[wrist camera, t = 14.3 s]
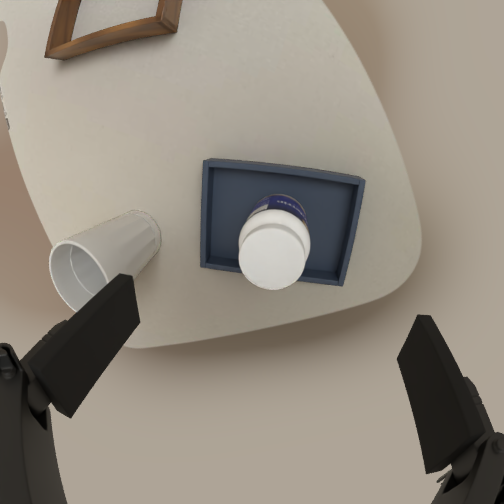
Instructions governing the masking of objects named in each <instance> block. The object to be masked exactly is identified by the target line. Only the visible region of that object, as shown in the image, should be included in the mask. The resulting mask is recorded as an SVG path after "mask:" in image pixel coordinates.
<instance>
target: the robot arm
mask: <svg viewBox="0 0 504 504" xmlns="http://www.w3.org/2000/svg"><path fill="white" fill-rule="evenodd" d="M139 323H140V318H139V312H138V307H137V301H136V295H135V288H134V281H133V276H132V275H127V274H122V273H119V274H118V275H117V276H116V277H115V278H113V279H112V280H111V281H110V282H109V283H108V284H107V285H106V286H104V287H103V288H102V289H101V290H100V291H99V292H98V293H97V294H96V295H95V296H94V297H92V298H91V299H90V300H89V301H88V302H87V303H86V304H85V305H84V306H83V307H82V308H81V309H80V310H79V311H78V312H76V314H74V315H73V316H72V317H71V318H70V319H69V320H68V321H67V320H64V321H62V322H60V323H58V324H57V325H55V326H54V327H53V328H52V329H51V330H50V331H49V332H48V334H46V335H45V336H44V337H43V338H42V340H40V341H39V342H38V343H37V344H36V345H35V346H34V347H33V348H32V349H31V350H30V351H29V352H28V353H27V354H26V355H25V356H24V357H23V358H22V359H21V360H20V361H19V359H18V357H17V355H16V353H15V352H14V350H13V348H12V346H11V345H10V344H7V343H0V504H67V501H66V497H65V494H64V490H63V486H62V482H61V478H60V473H59V468H58V464H57V458H56V453H55V447H54V440H53V433H52V424H51V414H50V409H49V407H48V405H49V404H50V403H52V404H53V405H54V407H55V408H56V410H57V411H59V412H60V413H62V414H64V415H65V416H67V417H69V418H72V416H73V415H74V413H75V412H76V410H77V409H78V407H79V405H80V404H81V403H82V401H83V400H84V398H85V397H86V396H87V394H88V393H89V391H90V390H91V389H92V387H93V386H94V384H95V383H96V381H97V380H98V379H99V377H100V376H101V374H102V373H103V372H104V370H105V369H106V368H107V366H108V365H109V363H110V362H111V361H112V359H113V358H114V357H115V355H116V354H117V353H118V351H119V350H120V349H121V347H122V346H123V345H124V343H125V342H126V341H127V339H128V338H129V337H130V335H131V334H132V333H133V331H134V330H135V329H136V327H137V326H138V325H139ZM397 361H398V364H399V368H400V371H401V374H402V377H403V380H404V383H405V387H406V390H407V394H408V397H409V401H410V405H411V408H412V412H413V416H414V420H415V424H416V428H417V432H418V436H419V440H420V445H421V450H422V455H423V460H424V465H425V471H426V474H429V473H434V472H438V471H441V470H443V469H444V468H445V467H447V466H448V465H449V464H451V466H452V469H451V470H450V471H448V472H447V473H446V474H444V475H443V476H441V477H440V478H439V479H438V480H437V483H438V482H440V481H442V480H443V479H444V478H445V479H444V481H443V483H441V487H440V489H439V491H438V493H437V494H436V496H435V498H434V500H433V501H432V503H431V504H504V434H502V433H499V432H496V433H495V432H494V430H493V427H492V424H491V422H490V419H489V417H488V414H487V412H486V409H485V407H484V405H483V404H482V400H481V398H480V397H479V394H478V391H477V389H476V387H475V385H474V384H473V383H472V382H471V381H470V379H469V378H468V377H463V376H462V373H461V371H460V369H459V367H458V365H457V363H456V361H455V359H454V357H453V355H452V353H451V351H450V349H449V348H448V346H447V344H446V342H445V340H444V338H443V337H442V335H441V333H440V331H439V329H438V328H437V326H436V324H435V322H434V321H433V319H432V317H431V316H430V315H417V317H416V319H415V322H414V324H413V326H412V328H411V330H410V333H409V335H408V337H407V339H406V341H405V343H404V345H403V347H402V349H401V351H400V353H399V355H398V357H397Z"/></svg>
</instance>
